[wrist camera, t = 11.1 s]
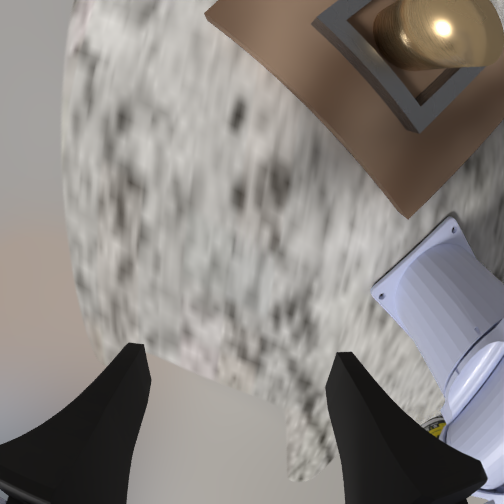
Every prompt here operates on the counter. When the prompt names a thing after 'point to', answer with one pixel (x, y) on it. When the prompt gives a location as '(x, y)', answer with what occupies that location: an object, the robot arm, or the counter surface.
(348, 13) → the frame
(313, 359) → the counter surface
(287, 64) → the jig plate
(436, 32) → the brass cylinder
